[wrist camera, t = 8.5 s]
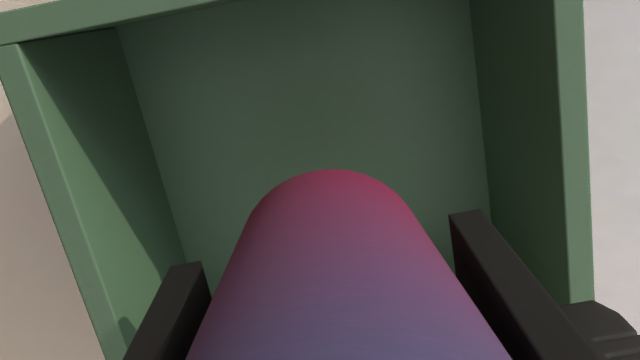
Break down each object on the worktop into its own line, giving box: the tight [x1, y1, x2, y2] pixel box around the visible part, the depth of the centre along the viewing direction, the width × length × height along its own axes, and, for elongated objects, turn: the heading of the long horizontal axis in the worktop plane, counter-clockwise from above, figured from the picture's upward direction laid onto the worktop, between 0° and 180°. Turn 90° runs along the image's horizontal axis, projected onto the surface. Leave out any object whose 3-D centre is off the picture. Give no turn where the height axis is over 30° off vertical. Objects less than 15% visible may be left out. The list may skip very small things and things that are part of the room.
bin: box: [0, 0, 595, 360], centre depth 21 cm, size 16×16×9 cm
